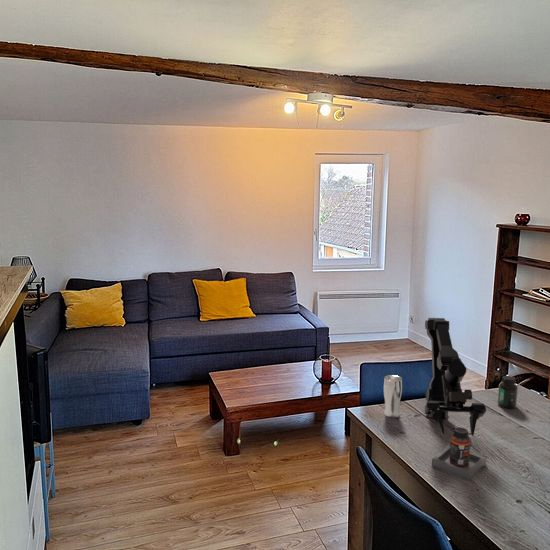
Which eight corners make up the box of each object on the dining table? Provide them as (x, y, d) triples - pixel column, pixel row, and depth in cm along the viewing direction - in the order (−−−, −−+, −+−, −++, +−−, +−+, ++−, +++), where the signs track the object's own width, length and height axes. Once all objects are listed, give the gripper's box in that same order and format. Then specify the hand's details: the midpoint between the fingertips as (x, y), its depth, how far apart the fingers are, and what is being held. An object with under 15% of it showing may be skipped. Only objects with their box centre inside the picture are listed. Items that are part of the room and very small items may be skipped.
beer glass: (401, 412, 200) (403, 376, 198) (400, 419, 194) (401, 382, 191) (383, 409, 203) (385, 374, 200) (381, 416, 196) (382, 380, 194)
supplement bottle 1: (465, 470, 157) (467, 436, 155) (446, 464, 161) (448, 430, 159) (471, 461, 162) (473, 429, 160) (452, 456, 166) (454, 423, 164)
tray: (431, 466, 161) (431, 458, 161) (448, 451, 170) (449, 444, 170) (469, 481, 153) (470, 473, 152) (485, 465, 162) (486, 457, 161)
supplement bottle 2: (500, 408, 203) (502, 380, 201) (495, 401, 209) (497, 374, 207) (518, 409, 202) (520, 381, 200) (512, 402, 209) (515, 375, 206)
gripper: (427, 378, 166) (432, 425, 158) (486, 380, 164) (494, 428, 156) (422, 391, 176) (426, 436, 167) (478, 393, 173) (485, 439, 165)
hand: (457, 434), depth 163 cm, fingers open, 9 cm apart
